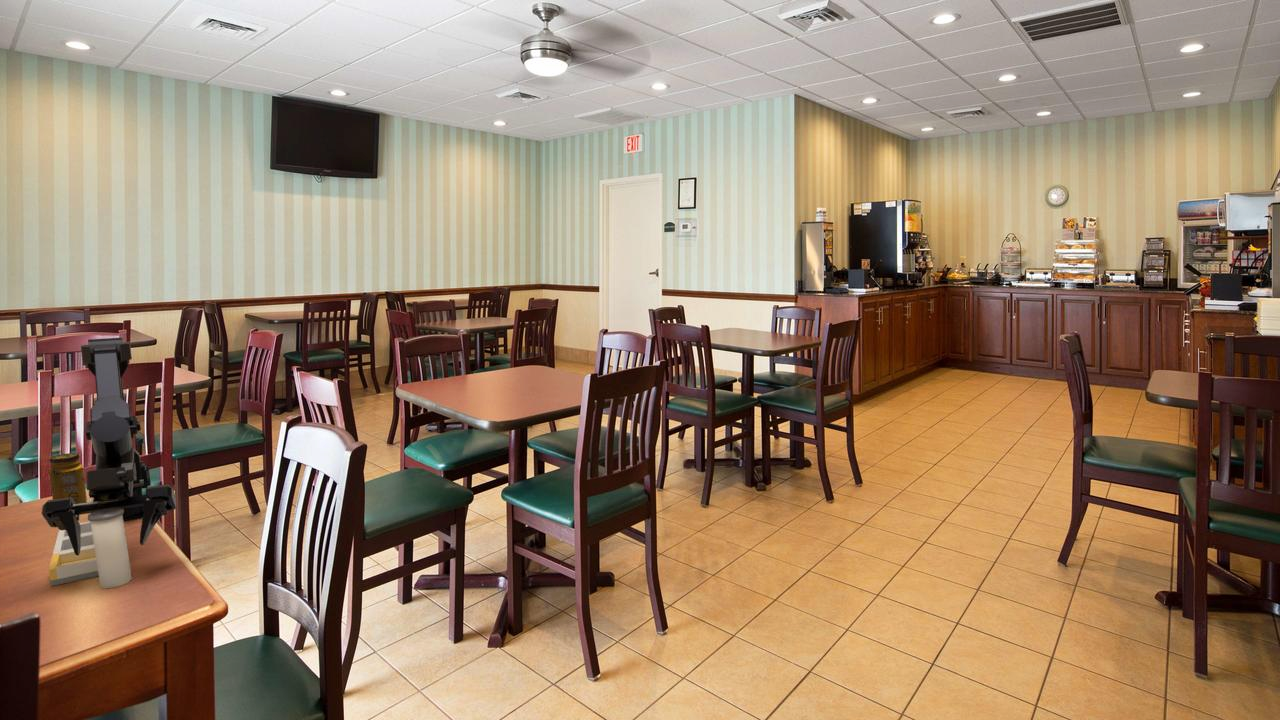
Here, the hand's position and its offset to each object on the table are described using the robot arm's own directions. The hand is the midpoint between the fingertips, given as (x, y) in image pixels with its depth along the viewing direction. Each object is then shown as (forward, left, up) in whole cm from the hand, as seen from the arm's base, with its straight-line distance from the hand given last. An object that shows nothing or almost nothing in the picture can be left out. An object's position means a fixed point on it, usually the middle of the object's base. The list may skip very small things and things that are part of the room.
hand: (109, 549), depth 123 cm
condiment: (+9, -54, -7) cm, 55 cm away
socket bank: (+5, -18, -7) cm, 20 cm away
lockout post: (0, -1, -7) cm, 7 cm away
